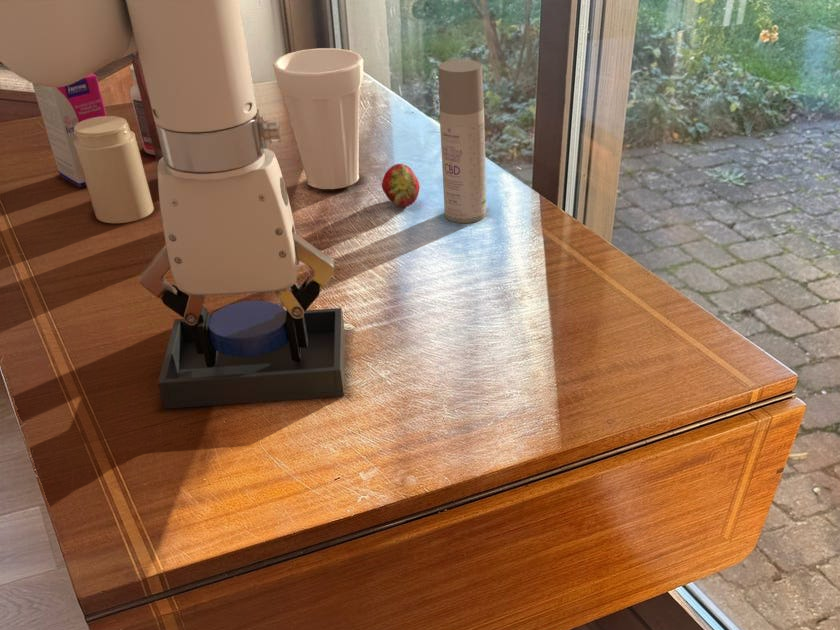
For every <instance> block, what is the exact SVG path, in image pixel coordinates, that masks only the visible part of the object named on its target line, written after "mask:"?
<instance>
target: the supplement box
mask: <svg viewBox="0 0 840 630" xmlns="http://www.w3.org/2000/svg"><path fill="white" fill-rule="evenodd" d="M31 84H32V88H33V91H34V94H35V98H36V101H37V104H38V108H39V111H40V114H41V117H42V120H43V124H44V127H45V131H46V135H47V139H48V141H49V145H50V148H51V151H52V155H53V157H54V158H53V159H54V161H55V164H56V169H57V171H58V173H59V176H60V177H61V178H63V179H65V180H67V181H68V182H70V183H71V184H72V185H74V186H76V187H78V188H84V187H87V186H86V183H85V180H84V176H83V173H82V170H81V166H80V163H79V160H78V156H77V153H76V150H75V147H74V140H75V139H76V138H77V137H76V135H75V134H74V126H75V125H76V124H77V123H79V122H81V121H83V120H86V119H90V118H94V117H101V116H107V111H106V108H105V104H104V101H103V96H102V93H101V89H100V85H99V81H98V78H97V75H96V74H94V73H92V74H90V75H88V76H87V77H85V78H83V79H81V80H79V81H77V82H75V83H73V84H71V85H68V86H63V87H44V86H41V85H37V84H33V83H31Z"/></svg>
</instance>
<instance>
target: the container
mask: <svg viewBox="0 0 840 630" xmlns="http://www.w3.org/2000/svg"><path fill="white" fill-rule="evenodd" d="M483 81H484V80H483V63H481V62H480V61H478V60H474V59H467V58H456V59H449V60H445V61H442V62H441V63H440V64H439V65H438V99H439V129H440V149H441V150H440V151H441V163H442V164H441V167H442V184H443V185H442V186H443V187H442V188H443V204H444V205H443V206H444V217H445V219H447V220H448V221H450V222H453V223H457V224H471V223H475V222H476V223H477V222H479V221H481V220H483V219H484V218H485V217H487V184H486V183H487V181H486V180H487V179H486V177H487V176H486V175H487V174H486V136H485V135H486V133H485V129H486V128H485V127H486V126H485V103H484V102H485V101H484V82H483Z"/></svg>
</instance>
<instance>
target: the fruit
mask: <svg viewBox="0 0 840 630" xmlns="http://www.w3.org/2000/svg"><path fill="white" fill-rule="evenodd" d="M381 189H382V190H383V192H384V194H385V196H386V197H387V199H388V200H389V201H390V202H391V203H393V204H394V205H395V206H397V207H399V208H401V207H402V208H405V207H409V206H411V205H413V204H414V203H416V200H417V198H418V196H419V192H420V189H421V186H420V182H419V179H418V178H417V176H416V174H415V173H414V171H413V170H412V168H411V167H410V166H408V165H406V164H404V163H395V164H393V165H392V166H390V168H388V169H387V171H386V172H385V173H384V176H383V178H382V182H381Z"/></svg>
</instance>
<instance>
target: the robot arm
mask: <svg viewBox="0 0 840 630" xmlns="http://www.w3.org/2000/svg"><path fill="white" fill-rule="evenodd" d="M247 47H248V46H247V43H246V36H245V29H244V25H243V19H242V12H241V6H240V0H0V62H1V64H3V65H4V66H5V67H6V68H8V69H9V70H10V71H12V72H13V73H14V74H15V75H17V76H18V77H20V78H22V79H23V80H25V81H28V82H29V83H31V84H32V83H33V84H37V85H41V86H44V87H63V86H68V85H71V84H73V83H75V82H77V81H79V80H81V79H83V78H85V77H87V76H88V75H90V74H94V73H95V72H97V71H99V70H101V69H103V67H105V66H107V65H108V64H111V63H113V62H116V61H118V60H121V59H123V58H125V57H127V56H130V55H132V54H133V53H134V52H137V51H138V53H139V58H140V62H141V66H142V70H143V74H144V79H145V83H146V87H147V91H148V95H149V100H150V104H151V108H152V112H153V116H154V120H155V125H156V129H157V133H158V137H159V141H160V146H161V150H162V154H163V158H161V159H160V160H159V161H158V164H157V187H158V197H159V198H158V199H159V209H160V213H161V214H160V215H161V221H162V228H163V234H164V241H165V245H164V246H163V247H162V248H161V249H160V250H159V252H158V253H156V255H155V256H154V257H153V259H152V260H151V261H150V262H149V264H147V266H145V268H144V269H143V270H142V272H141V275H140V278H139V283H140V285H141V286H142V287H143V288H144V289H146V290H147V291H148V292H150V293H151V294H152V295H153V296H155V297H156V298H158V299H160V300H161V302H162V304H163V305H165V306H166V307H167V308H169V309H170V310H172V311H173V312H174V313H176V314H177V315H178V316H180V317H182V319H184V321H185V323H187V324H188V325H190V326H191V330H192V334H193V338H194V342H195V346H196V350H197V353H198V354H204V357H205V361H206V366H207V368H210V367H214V366H216V361H217V356H218V351H217V350H216V349H215V348H214V347H213V346H212V345H211V340H210V336H209V329H208V322H209V318H210V316H211V315H212V314H211V311H208V308H206V307H205V305H204V303H205V299H206V296H221V295H240V294H241V295H242V294H254V293H268V292H270V293H271V292H273V293H274V294H275V296H276V297H277V298H278V299H279V301H280V302H281V304H282V306H283V307H284V309H285V310H286V328H287V334H288V340H289V346H290V351H291V357H292V361H293V360H294V361H295V362H301V351H302V348H304V347H308V337H307V331H306V325H305V318H304V312H305V311H306V310H309V307H310V306H311V305H312V304H313V303H314V302H315V301H316V300H317V298H318V297H319V296H320V293H321V291H322V290H323V289H324V288H325V287H326V285H327V284H328V282H329V281H330V280H331V279H332V277H333V275H334V274H335V267H336V266H335V265H336V264H335V261H334V260H333V259H332V258H330V257H329V256H328V255H326V254H325V253H324V252H323V251H321V250H319V249H318V248H317V247H315V246H314V245H312V244H311V243H309V242H308V241H307V240H305V239H304V238H303V237H301V236H299V234H297V231H296V227H295V222H294V217H293V212H292V208H291V204H290V199H289V194H288V191H287V187H286V184H285V180H284V177H283V173H282V170H281V167H280V164H279V161H278V158H277V156H276V154H275V152H274V151H273V150H271V149H269V148H267V145H272V143H281V142H282V134H281V127H280V122H279V121H274V122H273V121H272V122H270V121H269V120H264V118H263V116H260V111H259V109H258V108H257V102H256V96H255V90H254V83H253V77H252V72H251V65H250V60H249V54H248V53H249V52H248V48H247ZM300 262H301V263H303V264H304V265H306V266H307V267H309V268H310V269H311V270H312V271H311V273H310V275H309V276H308V277H307V278H306V279H305V280H304V281H303V283H302V284H300V286H299V285H298V284H297V281H298V266H299V265H300ZM169 270H170V271H171V275H172V278H173V282H174V284H171V283H170V282H169V281H168V280H167V279H166V278H165V277H164V276H165V275H166V274H167V272H169Z"/></svg>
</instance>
